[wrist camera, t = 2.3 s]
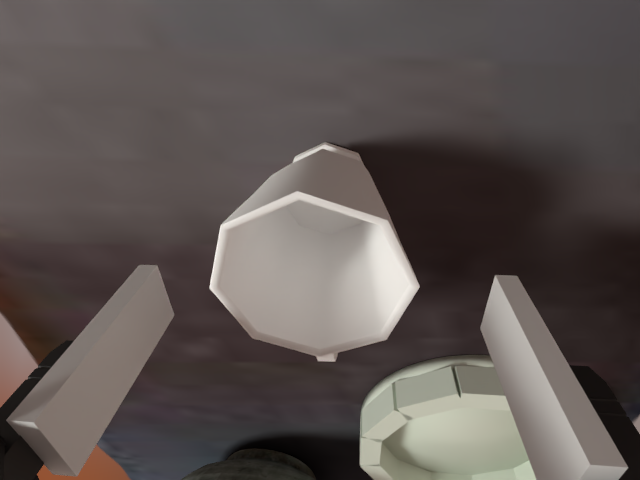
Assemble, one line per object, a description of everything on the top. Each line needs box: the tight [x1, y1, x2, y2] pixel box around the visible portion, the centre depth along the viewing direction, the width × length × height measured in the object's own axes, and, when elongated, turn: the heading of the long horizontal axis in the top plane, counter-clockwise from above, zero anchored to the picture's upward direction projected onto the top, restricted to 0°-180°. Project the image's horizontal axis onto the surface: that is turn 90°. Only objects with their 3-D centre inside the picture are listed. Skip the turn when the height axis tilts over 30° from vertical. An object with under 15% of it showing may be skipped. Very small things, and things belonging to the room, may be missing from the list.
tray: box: [360, 355, 536, 480], centre depth 28 cm, size 16×16×3 cm
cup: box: [209, 142, 420, 361], centre depth 16 cm, size 7×10×8 cm
